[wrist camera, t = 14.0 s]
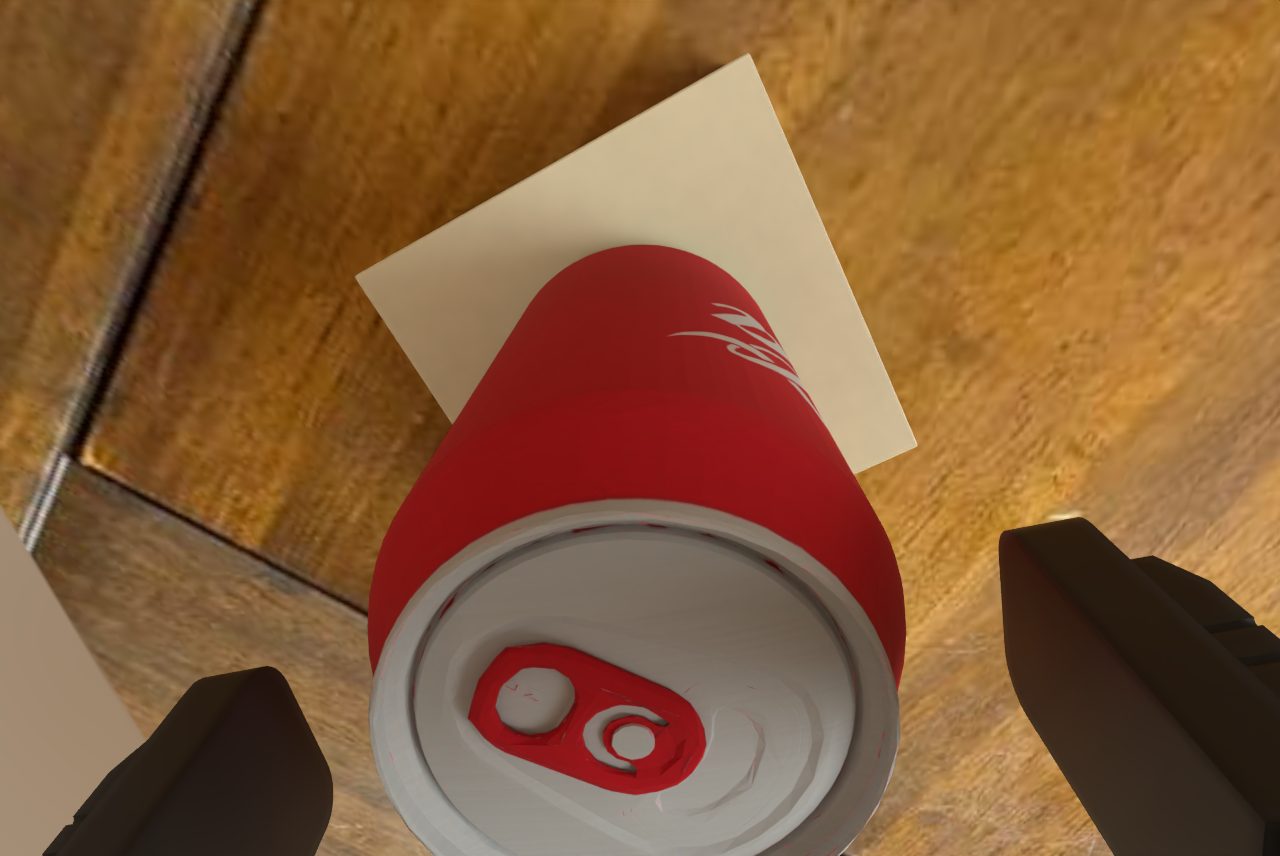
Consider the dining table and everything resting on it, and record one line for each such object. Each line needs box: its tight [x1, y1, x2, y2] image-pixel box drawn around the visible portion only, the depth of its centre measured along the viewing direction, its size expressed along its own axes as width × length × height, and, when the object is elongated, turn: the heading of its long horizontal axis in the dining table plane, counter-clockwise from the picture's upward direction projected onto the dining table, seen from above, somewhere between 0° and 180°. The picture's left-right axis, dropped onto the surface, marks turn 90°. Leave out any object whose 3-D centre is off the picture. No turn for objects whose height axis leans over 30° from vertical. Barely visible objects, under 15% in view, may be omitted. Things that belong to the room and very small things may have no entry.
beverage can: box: [368, 245, 906, 856], centre depth 13 cm, size 6×6×12 cm
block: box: [355, 53, 917, 474], centre depth 21 cm, size 10×10×5 cm
